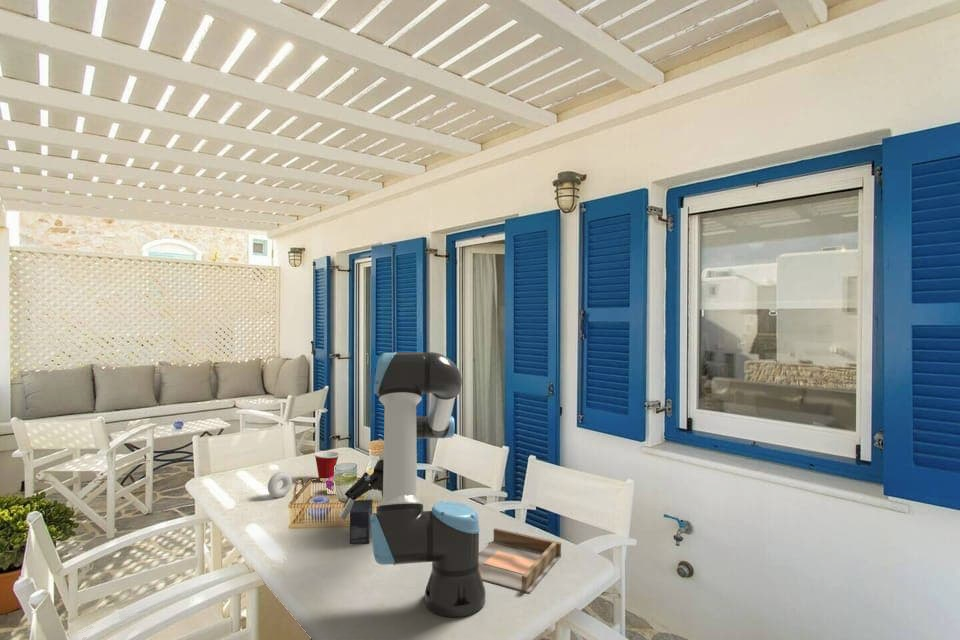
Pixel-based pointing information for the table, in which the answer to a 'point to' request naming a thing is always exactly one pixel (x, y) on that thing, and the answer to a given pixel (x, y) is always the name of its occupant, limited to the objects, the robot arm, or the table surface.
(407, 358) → the robot arm
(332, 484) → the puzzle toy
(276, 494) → the donut
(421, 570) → the table surface
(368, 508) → the small box
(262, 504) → the table surface
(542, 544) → the wooden tray
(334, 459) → the plastic cup
